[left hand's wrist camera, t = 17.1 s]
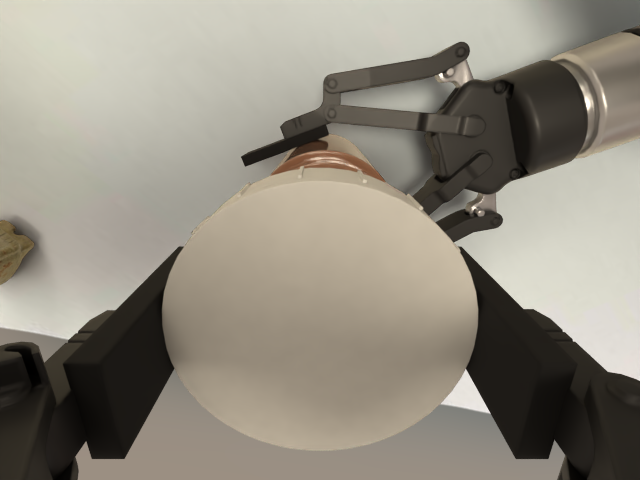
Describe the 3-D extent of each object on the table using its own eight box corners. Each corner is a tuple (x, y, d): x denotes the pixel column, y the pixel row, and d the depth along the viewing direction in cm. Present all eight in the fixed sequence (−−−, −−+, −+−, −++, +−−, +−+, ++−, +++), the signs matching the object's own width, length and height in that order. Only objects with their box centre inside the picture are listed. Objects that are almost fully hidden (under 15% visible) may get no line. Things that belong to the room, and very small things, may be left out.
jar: (365, 127, 32) (398, 143, 18) (372, 216, 35) (406, 293, 21) (273, 139, 33) (232, 165, 18) (287, 226, 36) (263, 309, 21)
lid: (131, 311, 13) (97, 349, 11) (303, 96, 10) (299, 94, 8) (329, 440, 15) (331, 491, 13) (511, 288, 12) (547, 322, 10)
